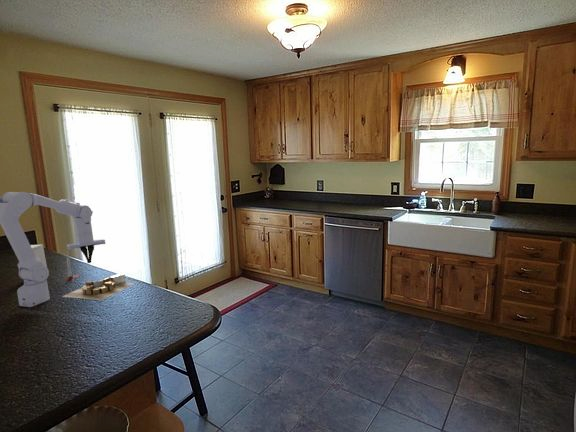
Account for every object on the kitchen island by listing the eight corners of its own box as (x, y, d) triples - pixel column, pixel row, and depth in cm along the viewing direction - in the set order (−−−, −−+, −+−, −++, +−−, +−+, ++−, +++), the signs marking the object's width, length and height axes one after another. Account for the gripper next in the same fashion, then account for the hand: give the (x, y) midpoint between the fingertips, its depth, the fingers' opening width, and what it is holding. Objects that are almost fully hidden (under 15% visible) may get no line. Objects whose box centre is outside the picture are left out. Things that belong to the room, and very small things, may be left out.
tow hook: (84, 275, 173) (64, 280, 165) (82, 249, 171) (61, 253, 163) (93, 278, 168) (73, 283, 160) (91, 251, 166) (70, 256, 158)
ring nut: (76, 294, 143) (74, 286, 143) (105, 279, 159) (104, 272, 159) (101, 295, 141) (100, 287, 140) (128, 280, 157) (127, 273, 156)
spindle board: (102, 303, 137) (101, 291, 136) (62, 299, 143) (60, 288, 142) (135, 285, 154) (134, 275, 153) (98, 282, 160) (97, 273, 159)
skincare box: (36, 280, 167) (31, 248, 164) (23, 280, 167) (17, 249, 165) (49, 274, 176) (43, 243, 173) (36, 274, 176) (30, 244, 173)
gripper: (65, 236, 148) (70, 268, 150) (104, 231, 155) (108, 261, 158) (65, 234, 154) (70, 264, 156) (102, 228, 161) (106, 257, 164)
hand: (89, 262), depth 157 cm, fingers closed
